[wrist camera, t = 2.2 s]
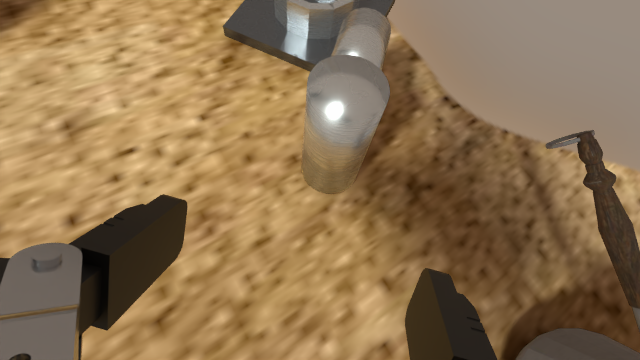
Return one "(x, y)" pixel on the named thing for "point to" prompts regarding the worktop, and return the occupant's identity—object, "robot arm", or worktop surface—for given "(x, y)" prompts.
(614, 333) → the worktop surface
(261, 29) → the duct collar
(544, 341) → the coffee pot
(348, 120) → the duct elbow
